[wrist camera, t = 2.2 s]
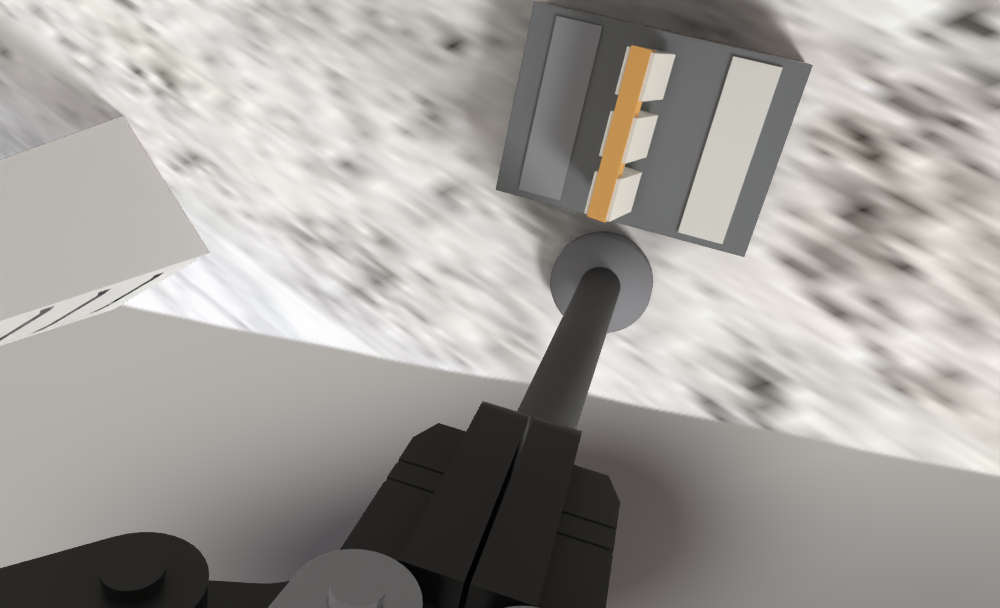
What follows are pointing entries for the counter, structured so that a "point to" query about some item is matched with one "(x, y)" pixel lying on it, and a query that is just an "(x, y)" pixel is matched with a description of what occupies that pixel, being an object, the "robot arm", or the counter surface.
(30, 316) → the grater
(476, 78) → the counter surface
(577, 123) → the breaker panel
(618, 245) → the stand
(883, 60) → the counter surface
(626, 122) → the breaker paddles
